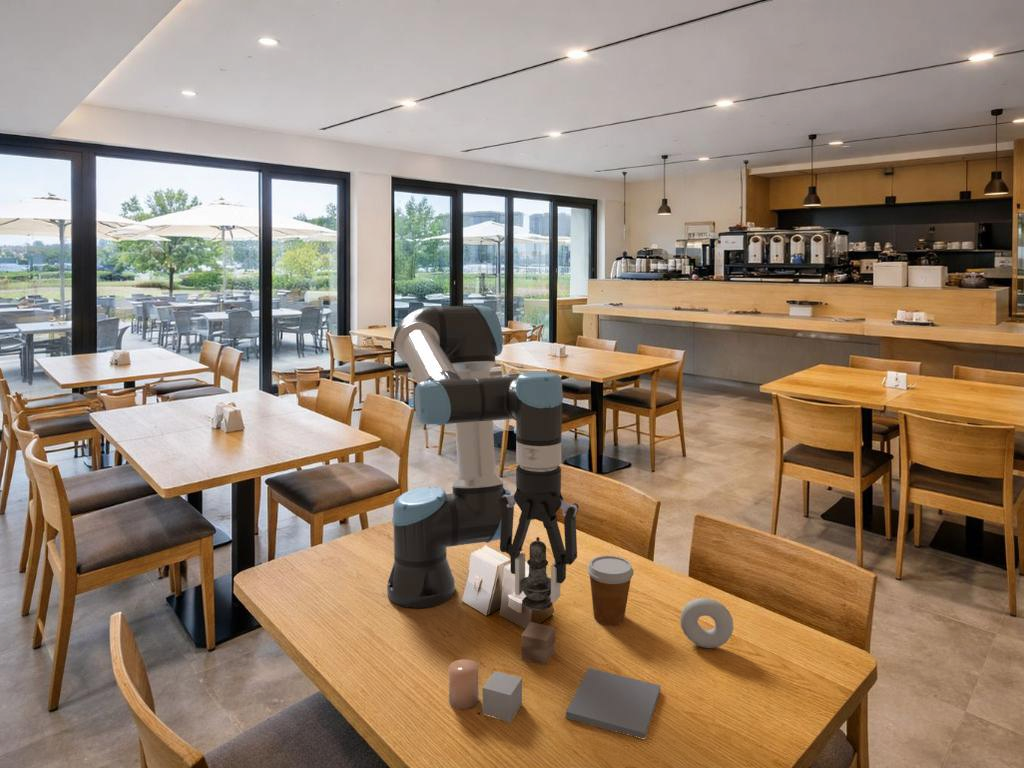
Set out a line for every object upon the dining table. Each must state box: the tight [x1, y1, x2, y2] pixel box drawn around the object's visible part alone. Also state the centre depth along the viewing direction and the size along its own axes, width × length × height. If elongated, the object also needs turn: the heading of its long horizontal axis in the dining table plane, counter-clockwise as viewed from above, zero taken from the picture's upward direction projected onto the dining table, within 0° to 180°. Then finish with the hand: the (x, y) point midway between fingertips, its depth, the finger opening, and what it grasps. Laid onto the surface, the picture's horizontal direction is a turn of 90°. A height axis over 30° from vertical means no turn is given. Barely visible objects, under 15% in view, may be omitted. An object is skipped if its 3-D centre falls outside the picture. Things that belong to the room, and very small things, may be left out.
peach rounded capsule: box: [448, 658, 479, 710], centre depth 113 cm, size 5×5×6 cm
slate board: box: [565, 667, 661, 739], centre depth 112 cm, size 13×13×1 cm
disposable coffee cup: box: [586, 555, 634, 626], centre depth 139 cm, size 10×10×12 cm
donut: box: [679, 597, 735, 649], centre depth 129 cm, size 10×4×10 cm, turn 70°
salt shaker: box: [521, 536, 553, 611], centre depth 113 cm, size 6×6×12 cm
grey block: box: [482, 670, 523, 723], centre depth 111 cm, size 5×5×5 cm
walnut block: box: [520, 621, 556, 666], centre depth 126 cm, size 5×5×5 cm
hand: (537, 594), depth 114 cm, fingers closed on salt shaker, 6 cm apart
